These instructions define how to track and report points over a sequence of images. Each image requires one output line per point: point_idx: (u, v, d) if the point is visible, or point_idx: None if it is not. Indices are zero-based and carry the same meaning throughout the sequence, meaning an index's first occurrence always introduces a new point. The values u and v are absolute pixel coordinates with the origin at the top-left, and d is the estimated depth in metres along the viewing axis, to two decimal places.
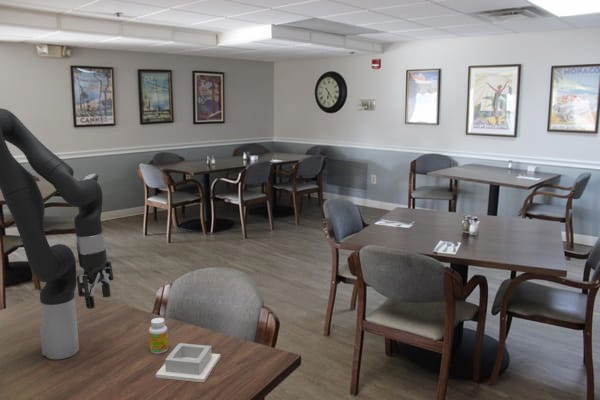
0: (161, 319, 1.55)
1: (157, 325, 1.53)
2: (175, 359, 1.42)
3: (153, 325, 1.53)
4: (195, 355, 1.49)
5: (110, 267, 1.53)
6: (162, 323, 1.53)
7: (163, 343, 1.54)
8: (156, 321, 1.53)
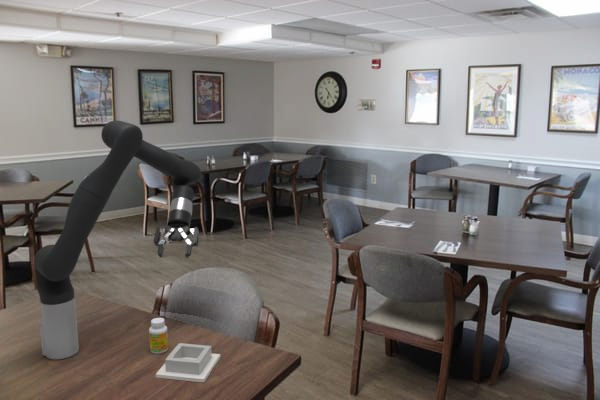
0: (161, 319, 1.55)
1: (157, 325, 1.53)
2: (175, 359, 1.42)
3: (153, 325, 1.53)
4: (195, 355, 1.49)
5: None
6: (162, 323, 1.53)
7: (163, 343, 1.54)
8: (156, 321, 1.53)
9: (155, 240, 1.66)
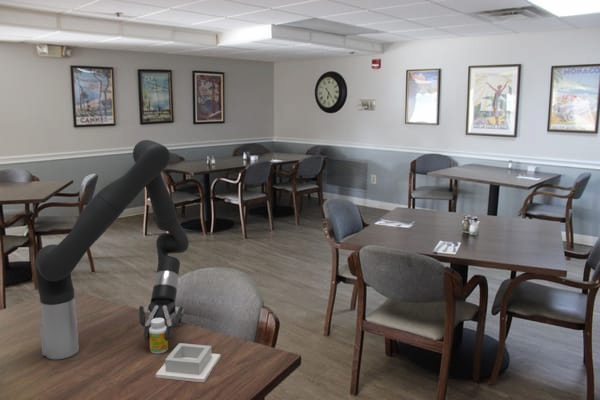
0: (161, 319, 1.55)
1: (157, 325, 1.53)
2: (175, 359, 1.42)
3: (153, 325, 1.53)
4: (195, 355, 1.49)
5: None
6: (162, 323, 1.53)
7: (163, 343, 1.54)
8: (156, 321, 1.53)
9: (141, 321, 1.55)
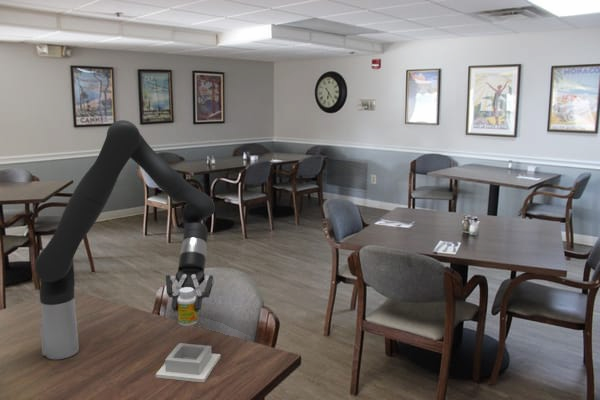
0: (190, 288, 1.42)
1: (187, 295, 1.40)
2: (175, 359, 1.42)
3: (182, 294, 1.40)
4: (195, 355, 1.49)
5: None
6: (191, 292, 1.41)
7: (192, 314, 1.41)
8: (185, 290, 1.41)
9: (169, 291, 1.43)
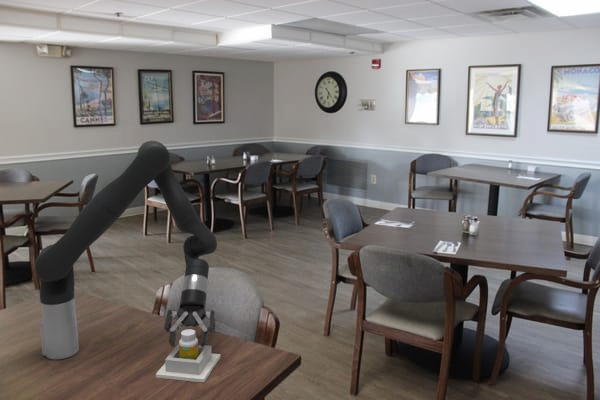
0: (192, 331, 1.45)
1: (188, 338, 1.43)
2: (175, 359, 1.42)
3: (184, 337, 1.43)
4: None
5: None
6: (193, 335, 1.44)
7: (193, 356, 1.44)
8: (187, 333, 1.43)
9: (166, 326, 1.45)
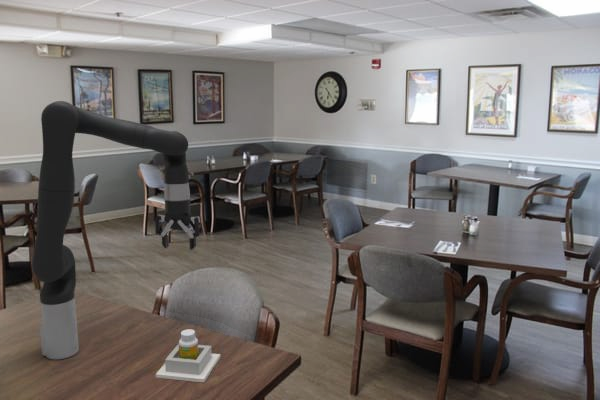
0: (191, 331, 1.45)
1: (188, 338, 1.43)
2: (175, 359, 1.42)
3: (183, 337, 1.43)
4: None
5: None
6: (193, 335, 1.44)
7: (193, 356, 1.44)
8: (187, 333, 1.43)
9: (157, 232, 1.57)
